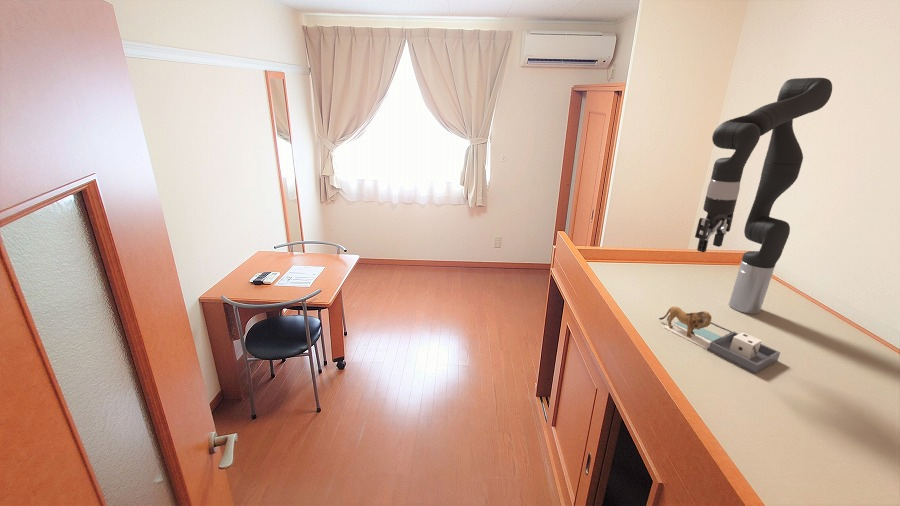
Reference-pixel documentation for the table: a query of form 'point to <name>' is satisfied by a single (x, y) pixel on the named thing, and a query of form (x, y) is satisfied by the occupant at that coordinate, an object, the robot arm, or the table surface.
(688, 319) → the lion figurine
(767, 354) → the dice tray
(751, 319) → the table surface
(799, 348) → the table surface
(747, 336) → the die
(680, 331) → the track
